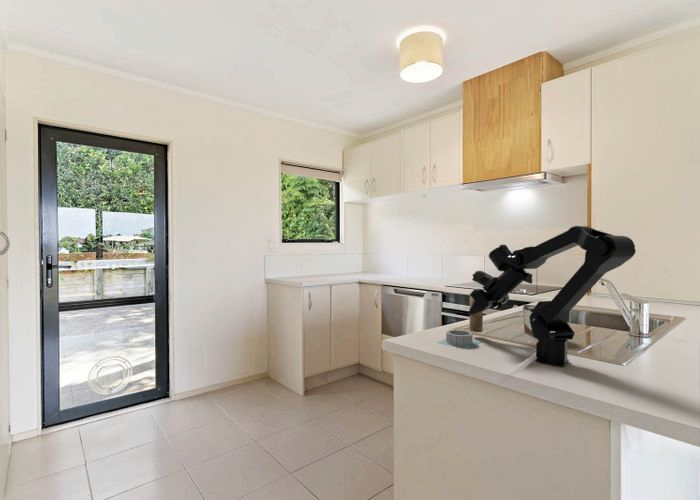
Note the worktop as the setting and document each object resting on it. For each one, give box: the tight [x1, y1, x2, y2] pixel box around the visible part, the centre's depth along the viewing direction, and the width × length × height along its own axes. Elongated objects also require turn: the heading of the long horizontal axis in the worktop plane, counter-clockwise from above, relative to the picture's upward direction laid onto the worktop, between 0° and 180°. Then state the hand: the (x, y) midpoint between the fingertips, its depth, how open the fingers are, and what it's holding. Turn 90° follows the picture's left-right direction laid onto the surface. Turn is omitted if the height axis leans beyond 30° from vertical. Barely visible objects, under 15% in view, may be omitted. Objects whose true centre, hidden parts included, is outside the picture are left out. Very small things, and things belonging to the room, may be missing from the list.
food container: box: [522, 304, 539, 341], centre depth 123 cm, size 12×6×10 cm, turn 179°
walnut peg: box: [469, 295, 484, 333], centre depth 117 cm, size 4×4×11 cm
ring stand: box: [436, 329, 482, 350], centre depth 110 cm, size 10×10×4 cm
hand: (472, 312), depth 118 cm, fingers closed on walnut peg, 4 cm apart
